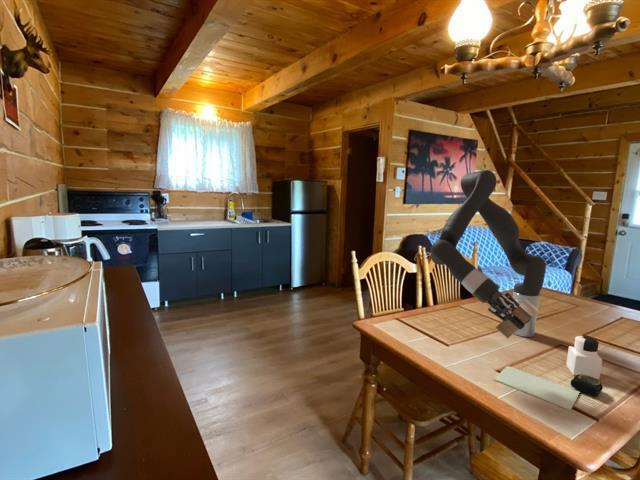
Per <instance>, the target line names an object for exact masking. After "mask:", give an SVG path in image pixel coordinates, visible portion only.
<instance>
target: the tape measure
mask: <svg viewBox="0 0 640 480" xmlns="http://www.w3.org/2000/svg"><path fill="white" fill-rule="evenodd" d="M570 386H571V387H572V389H573V388H574V390H576V391H579V392H582V393H585V394H587V395H590V396H592V397H595V398H597V397H598V396H599V394H601V392H602V390H603V388H604V387H603V385H602V383H601V381H600V379H599V380H597V379H596V378H593V377H591V376H588V375H582V374H579V375H575V376H574V375H573V378H572V379H571V380H570Z"/></svg>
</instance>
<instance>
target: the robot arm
mask: <svg viewBox="0 0 640 480" xmlns="http://www.w3.org/2000/svg"><path fill="white" fill-rule="evenodd" d="M460 187H461V190H462V193H463V194H464V195H465V198H467V199H466V200H465V201H464V202H463V203H461V205H459V206H458V207H457V208H456V209H455V210H454V211H453V212H452V213H451V214H450V216H449V217H448V219H447V221H446V222H445V223H444V226H443V228H442V229H441V233H440V236H439V238H438V239H436V240H435V241H434V242H433V243H432V244H431V248H430V259H431V261H432V263H434V264H435V265H437V266H438V265H439V266H443V265H444V266H446V268H448V270H449V274H451V275H452V277H453V278H454V279H456V280H457V281H458V282H459V283H460V284H461V285H462V286H463V287H464V288H465V290H467V291H468V292H469V293H471V294H472V295H473V297H475V298H476V299H477V300H478V301H480V302H481V303H482V304H484V303H487V304H488V305H489V307H488V309H487V311H488V312H490V313H491V314H493V315H494V316H496V317H497V318H498V319H500V320H501V321H506V320H507V321H510V322H512V323H513V324H514V325H515V326H516V327H517V328H519V329H518V330H517V331H516V332H515V333H513V334H512V335H516V336H520V337H524V338H532V337H534V336H535V333H536V328H537V327H536V325H537V317H538V312H537V313H536V314H535V315H534V316H533V317H532V318H531V319H529V320H528V321H527V322H526V323H525V324H524V323H523V322H522V321H521V320H520V319H518V318H517V317H516V316H515V315H514V314H513V313H512V312H513V311H514V310H515V309H516V308H517V307H518V306H519V305H520V304H521V303H522V302H523V301H524V300H525V299H526V300H528V301H529V302H530V303H531V304H532V305H534V306H535V307H536V308H537V309H539V304H540V303H539V301H540V294H541V293H540V292H541V290H542V289H543V286H544V280H545V278H546V277H545V276H546V270H547V265H546V261H545V259H544V258H543V257H542V256H539V255H535V254H531V253H528V252H526V251H525V249H524V248H523V246H522V245H521V244H520V243H521V242H520V239H519V238H520V229H519V226H518V223H517V222H516V220H515V218H514V217H513V215H512V214H511V213H510V212H509V211H508V210H507V209H505V208H504V207H502V206H501V205H500V204H497V203H496V202H494V201H493V200H491V198H490V196H491V195H492V194H493V193H494V191H495V189H496V187H497V176H496V175H495V173H494V172H493V171H492V170H488V169H482V170H478V171H472V172H469V173H466V174H464V175H463V176H462V177H461V180H460ZM477 213H479V215H480V216H481V218H482V219H483V220H484V222H485V224H486V225H487V227H488V229H489V230H490V232H491V234H492V236H493V237H494V239H496V241H497V242H498V244H499V246H500V248H501V249H502V250H503V252H504V254H505V255H506V259H507V261H508V262H509V265H510V267H511V269H512V271H514V272H515V273H516V274H517V275H520V276H523V282H520V283H515V284H514V285H513V292H512V295H511V294H510V293H509V292H506V293H505V294H504V293H502V292H500V291H499V289H500V285H498V284H497V283H496V282H494V280H492V279H491V278H490V277H489V276H487V274H485V273H484V272H482V271H481V270H479V269H478V268H476V267H475V266H474V265H473V264H472V263H470V261H468V260H467V259H466V258H465V257H464V256H463V254H461V253H462V252H460V251H459V250H458V248H457V246H458V244H459V242H460V241H461V239H462V238H463V235H465V234H464V233H465V232H466V229H467V228H468V226H469V224H470V223H471V221H472V220H473V218H474V217H475V216H476V214H477ZM514 316H515V317H514Z"/></svg>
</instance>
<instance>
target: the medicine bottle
mask: <svg viewBox="0 0 640 480" xmlns="http://www.w3.org/2000/svg"><path fill="white" fill-rule="evenodd" d="M598 348H599V341H598V340H597V339H595V338H593V337H591V336H588V335H587V336H586V335H577V336H575V338H574V346H571V345H569V346H568V350H567V357H566V364H565V365H567V366H566V367H567V368H568V370H569V372H572V373H571V374H572V375H573V376H574V375H579V374H582V375H588V376H591V377H593V378H596V379H599V380H600V379H601V371H602V365H603V359H602V357H601V356H600V355H599V354H598V350H599V349H598Z"/></svg>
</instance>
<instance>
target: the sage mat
mask: <svg viewBox="0 0 640 480" xmlns="http://www.w3.org/2000/svg"><path fill="white" fill-rule="evenodd" d="M493 380H494V381H495V382H497V383H499V384H502V385H505V386H507V387H510V388H513V389H516V390H518V391H521V392H523V393H525V394H528V395H531V396H533V397H536V398H538V399H541V400H543V401H545V402H548V403H549V404H550V403H551V404H553V405H556V406H557V407H561V408H563V409H566V410H568V411H572V409H573V408H574V405H575V403H576V401H577V399H578V398H577V397H579V396H578V395H580V394H579V393H581V391H580V390H577V389H573V388H570V387H568V386H566V385H562V384H559V383H556V382H554V381H551V380H548V379H545V378H542V377H539V376H537V375H534V374H532V373H529V372H526V371H523V370H520V369H517V368H514V367H512V366H509V365H507V366H506V367H505V368H504V369H503V370H501V372H500V373H499V374H497V375H496V376H495V377H494V378H493Z"/></svg>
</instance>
